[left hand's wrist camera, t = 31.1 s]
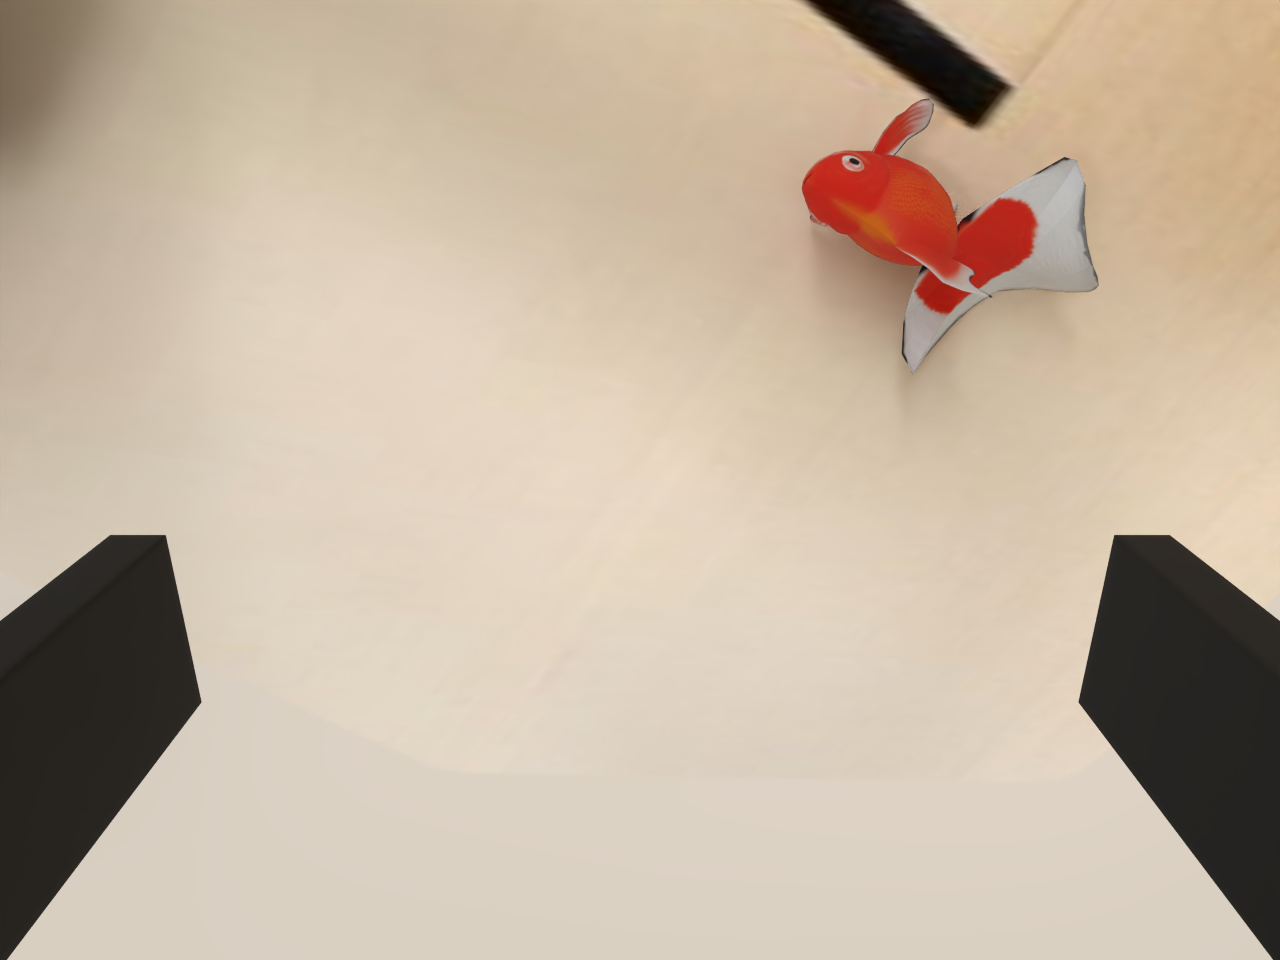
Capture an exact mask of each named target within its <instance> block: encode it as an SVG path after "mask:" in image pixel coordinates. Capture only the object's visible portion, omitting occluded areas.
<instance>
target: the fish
mask: <svg viewBox="0 0 1280 960" xmlns="http://www.w3.org/2000/svg"><path fill="white" fill-rule="evenodd" d="M933 107H934V104H933V103H932V102H931V100H930V99H923V100H920V101H918V102H916V103H915V104H913V105H911V106H910V107H909V108H908V109H907V110H906V111H905V112H903V113H902V114H900V115H898V116H897V117H895V119H894V120H893V121H892V122H891V123H890V124H889V126H888V127H887V128H886V129H885V130H884V132H883V133H882V135H881V137H880V138H879V140H878V142H877V144H876V145H875V147H874V149H873V151H872V152H871V151H840V152H835V153H833V154H831V155H829V156H826V157H824V158H822V159H820V160H819V161H818V162H817V163H816V164H815V165H814V166H813V167H812V168H811V169H810V170H809V171H808V172H807V174H806V176H805V178H804V180H803V185H802V191H803V195H804V197H805V201H806V203H807V206H808V209H809V212H810V214H811V216H810V219H811V221H812V222H814V223H817V224H820V225H822V226H828V227H832V228H833V229H834V230H835V231H837V232H839V233H841V234H847V235H848V236H850V237H851V238H852V239H853V240H854V241H855V242H856V243H857V244H858V245H859V246H860V247H862V248H863V249H865V250H866V251H868V252H870V253H871V254H873V255H875V256H877V257H879V258H882V259H884V260H887V261H890V262H894V263H899V264H904V265H911V266H912V265H922V268H921V270H920V272H919V275H918V277H917V280H916V282H915V285H914V287H913V290H912V292H911V295H910V299H909V302H908V305H907V309H906V314H905V318H904V324H903V342H902V355H903V357H904V359H905V360H906V362H907V364H908V366H909V368H910V370H911V371H912V373H913V375H914V373H915V372H916V370H917V369H918V367H919V365H920V364H921V362H922V361H923V359H924V358H925V356H926V355H927V354H928V353H929V352H930V351H931V349H932V348H933V347H934V346H935V345H936V344H937V342H938V341H939V340H940V339H941V338H942V337H943V335H944V334H945V333H946V332H947V331H948V330H949V328H950V327H951V326H952V325H953V324H955V323H956V322H957V321H958V320H959V319H960V318H961V317H962V316H963V315H964V314H965V313H966V312H967V311H968V310H969V309H971V308H972V307H973V306H975V305H976V304H978V303H979V302H981V301H982V300H983V299H985V298H986V297H992V296H991V294H993V293H995V292H996V291H1005V290H1015V289H1031V288H1035V289H1043V290H1050V291H1060V292H1090V291H1092V290H1095V289H1096V288H1097V287H1098V286H1099V284H1098V277H1097V274H1096V272H1095V270H1094V267H1093V264H1092V260H1091V256H1090V252H1089V249H1088V245H1087V237H1086V228H1085V219H1084V207H1085V187H1086V185H1085V182H1084V180H1083V177H1082V174H1081V171H1080V168H1079V165H1078V162H1077V160H1073V159H1069V158H1065V157H1064V158H1062V159H1060V160H1059V161H1057V162H1055V163H1053V164H1052V165H1050V166H1048V167H1046V168H1045V169H1043V170H1041V171H1040V172H1038V173H1036V174H1034V175H1032V176H1031V177H1029V178H1027V179H1025V180H1023V181H1022V182H1020V183H1018V184H1016V185H1015V186H1013V187H1011V188H1010V189H1008V190H1007V191H1005V192H1003V193H1002V194H1000V195H999V196H997V197H996V198H994V199H992V200H991V201H989V202H988V203H986V204H985V205H983V206H982V207H980V208H979V209H977V210H976V211H974V212H973V213H971V214H970V215H968V216H966V217H965V218H963V219H962V221H961V222H960V223H959V224H958V226H957V222H956V218H955V214H954V212H955V210H956V208H957V207H958V205H957V204H956V203H953V204H952V202H951V200H950V198H949V196H948V194H947V192H946V191H945V190H944V188H943V187H942V186H941V185H940V183H939V182H938V181H937V180H936V178H935V177H934V176H933V175H932V174H931V173H930V172H929V171H928V170H926V169H925V168H923V167H922V166H920V165H918V164H915V163H913V162H911V161H908V160H906V159H903V158H901V157H898V156H894V155H895V154H896V153H897V152H898V151H899V150H900V148H901V147H902V146H903V145H904V144H905V142H906V141H907V140H909V139H910V138H911V137H913V136H914V135H916V134H918V133H919V132H921V131H922V130H924V129H925V128H926V127H927V126H928V124H929V122H930V119H931V116H932V114H933ZM812 217H813V219H812Z"/></svg>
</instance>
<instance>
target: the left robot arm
mask: <svg viewBox="0 0 1280 960" xmlns="http://www.w3.org/2000/svg"><path fill="white" fill-rule="evenodd" d="M200 704H201V698H200V693H199V688H198V684H197V679H196V674H195V670H194V665H193V660H192V656H191V651H190V646H189V642H188V637H187V632H186V628H185V623H184V618H183V614H182V609H181V604H180V600H179V595H178V590H177V586H176V581H175V576H174V572H173V567H172V562H171V558H170V553H169V548H168V544H167V539H166V535H110V536H109V537H107V538H106V539H105V540H103V541H102V542H101V543H100V544H98V545H97V546H96V547H95V548H93V549H92V550H91V551H89V552H88V553H87V554H86V555H84V556H83V557H82V558H80V559H79V560H78V561H77V562H75V563H74V564H73V565H71V566H70V567H69V568H68V569H66V570H65V571H64V572H62V573H61V574H60V575H59V576H57V577H56V578H55V579H53V580H52V581H51V582H50V583H48V584H47V585H46V586H44V587H43V588H42V589H41V590H39V591H38V592H37V593H36V594H34V595H33V596H32V597H30V598H29V599H28V600H27V601H25V602H24V603H23V604H21V605H20V606H19V607H18V608H16V609H15V610H14V611H12V612H11V613H10V614H9V615H7V616H6V617H5V618H3V619H2V620H1V621H0V960H7V959H8V957H9V956H10V955H11V953H12V952H13V951H14V950H15V948H16V947H17V946H18V944H19V943H20V942H21V940H22V939H23V938H24V936H25V935H26V934H27V932H28V931H29V930H30V928H31V927H32V926H33V924H34V923H35V922H36V920H37V919H38V918H39V916H40V915H41V914H42V913H43V911H44V910H45V909H46V907H47V906H48V905H49V903H50V902H51V901H52V899H53V898H54V897H55V895H56V894H57V893H58V891H59V890H60V889H61V887H62V886H63V885H64V883H65V882H66V881H67V879H68V878H69V877H70V875H71V874H72V873H73V872H74V870H75V869H76V868H77V866H78V865H79V864H80V862H81V861H82V860H83V858H84V857H85V856H86V854H87V853H88V852H89V850H90V849H91V848H92V846H93V845H94V844H95V842H96V841H97V840H98V838H99V837H100V836H101V834H102V833H103V832H104V831H105V829H106V828H107V827H108V825H109V824H110V823H111V821H112V820H113V819H114V817H115V816H116V815H117V813H118V812H119V811H120V809H121V808H122V807H123V805H124V804H125V803H126V801H127V800H128V799H129V797H130V796H131V795H132V793H133V792H134V791H135V789H136V788H137V787H138V785H139V784H140V783H141V782H142V780H143V779H144V778H145V776H146V775H147V774H148V772H149V771H150V770H151V768H152V767H153V766H154V764H155V763H156V762H157V760H158V759H159V758H160V756H161V755H162V754H163V752H164V751H165V750H166V748H167V747H168V746H169V745H170V743H171V742H172V740H173V739H174V738H175V736H176V735H177V734H178V733H179V731H180V730H181V729H182V727H183V726H184V725H185V723H186V722H187V721H188V719H189V718H190V717H191V715H192V714H193V713H194V711H195V710H196V709H197V707H198V706H199V705H200ZM1079 704H1080V705H1081V706H1082V707H1083V709H1084V710H1085V711H1086V713H1087V714H1088V715H1089V717H1090V718H1091V719H1092V721H1093V722H1094V723H1095V725H1096V726H1097V727H1098V729H1099V730H1100V731H1101V733H1102V734H1103V735H1104V737H1105V738H1106V739H1107V741H1108V742H1109V743H1110V745H1111V746H1112V747H1113V749H1114V750H1115V751H1116V752H1117V754H1118V755H1119V756H1120V758H1121V759H1122V760H1123V762H1124V763H1125V764H1126V766H1127V767H1128V768H1129V770H1130V771H1131V772H1132V774H1133V775H1134V776H1135V778H1136V779H1137V780H1138V782H1139V783H1140V784H1141V786H1142V787H1143V788H1144V790H1145V791H1146V792H1147V793H1148V795H1149V796H1150V797H1151V799H1152V800H1153V801H1154V803H1155V804H1156V805H1157V807H1158V808H1159V809H1160V811H1161V812H1162V813H1163V815H1164V816H1165V817H1166V819H1167V820H1168V821H1169V823H1170V824H1171V825H1172V827H1173V828H1174V829H1175V830H1176V832H1177V833H1178V834H1179V836H1180V837H1181V838H1182V840H1183V841H1184V842H1185V844H1186V845H1187V846H1188V848H1189V849H1190V850H1191V852H1192V853H1193V854H1194V856H1195V857H1196V858H1197V860H1198V861H1199V862H1200V864H1201V865H1202V866H1203V868H1204V869H1205V870H1206V871H1207V873H1208V874H1209V875H1210V877H1211V878H1212V879H1213V881H1214V882H1215V883H1216V885H1217V886H1218V887H1219V889H1220V890H1221V891H1222V893H1223V894H1224V895H1225V897H1226V898H1227V899H1228V901H1229V902H1230V903H1231V905H1232V906H1233V907H1234V909H1235V910H1236V911H1237V913H1238V914H1239V915H1240V916H1241V918H1242V919H1243V920H1244V922H1245V923H1246V924H1247V926H1248V927H1249V928H1250V930H1251V931H1252V932H1253V934H1254V935H1255V936H1256V938H1257V939H1258V940H1259V942H1260V943H1261V944H1262V946H1263V947H1264V948H1265V950H1266V951H1267V952H1268V953H1269V955H1270V956H1271V957H1272V959H1273V960H1280V621H1279V620H1278V619H1276V618H1275V617H1274V616H1273V615H1271V614H1270V613H1269V612H1267V611H1266V610H1265V609H1264V608H1262V607H1261V606H1260V605H1259V604H1257V603H1256V602H1255V601H1253V600H1252V599H1251V598H1250V597H1248V596H1247V595H1246V594H1244V593H1243V592H1242V591H1241V590H1239V589H1238V588H1237V587H1236V586H1234V585H1233V584H1232V583H1230V582H1229V581H1228V580H1227V579H1225V578H1224V577H1223V576H1221V575H1220V574H1219V573H1218V572H1216V571H1215V570H1214V569H1212V568H1211V567H1210V566H1209V565H1207V564H1206V563H1205V562H1203V561H1202V560H1201V559H1200V558H1198V557H1197V556H1196V555H1194V554H1193V553H1192V552H1191V551H1189V550H1188V549H1187V548H1185V547H1184V546H1183V545H1182V544H1180V543H1179V542H1178V541H1177V540H1175V539H1174V538H1173V537H1171V536H1170V535H1114V539H1113V544H1112V548H1111V553H1110V558H1109V562H1108V567H1107V572H1106V576H1105V581H1104V586H1103V590H1102V595H1101V600H1100V604H1099V609H1098V614H1097V618H1096V623H1095V628H1094V632H1093V637H1092V642H1091V646H1090V651H1089V656H1088V660H1087V665H1086V670H1085V674H1084V679H1083V684H1082V688H1081V693H1080V698H1079Z"/></svg>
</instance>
